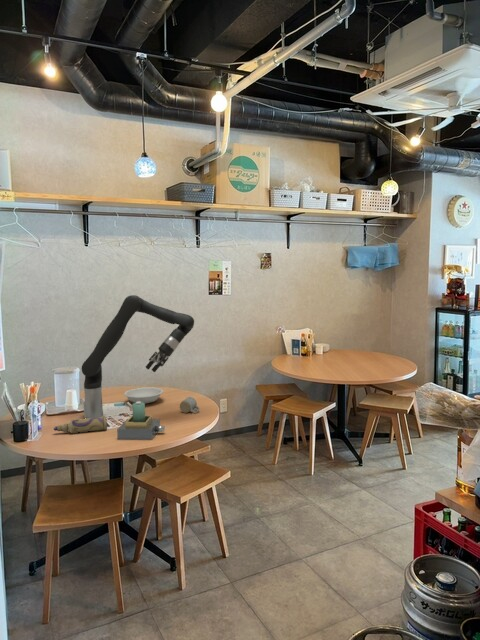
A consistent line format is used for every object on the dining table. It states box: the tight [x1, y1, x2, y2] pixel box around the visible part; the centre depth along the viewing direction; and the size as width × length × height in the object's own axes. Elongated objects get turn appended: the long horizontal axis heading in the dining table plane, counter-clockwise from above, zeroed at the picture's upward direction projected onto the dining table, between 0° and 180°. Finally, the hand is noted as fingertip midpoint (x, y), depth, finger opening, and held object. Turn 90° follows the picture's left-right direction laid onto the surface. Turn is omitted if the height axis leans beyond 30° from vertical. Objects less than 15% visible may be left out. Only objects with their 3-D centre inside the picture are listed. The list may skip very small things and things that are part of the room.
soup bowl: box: [123, 386, 164, 404], centre depth 288 cm, size 24×24×7 cm
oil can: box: [126, 401, 146, 422], centre depth 230 cm, size 9×6×12 cm
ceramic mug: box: [179, 396, 200, 414], centre depth 267 cm, size 11×8×8 cm
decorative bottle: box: [53, 415, 108, 434], centre depth 237 cm, size 26×8×7 cm, turn 105°
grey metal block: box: [116, 415, 166, 440], centre depth 232 cm, size 21×16×8 cm
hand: (149, 369), depth 246 cm, fingers open, 8 cm apart
